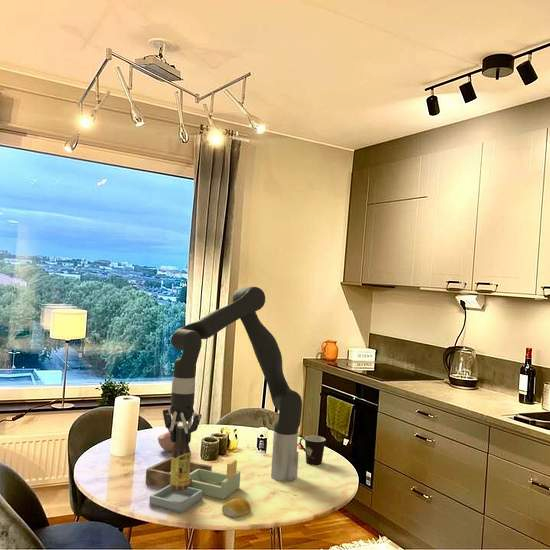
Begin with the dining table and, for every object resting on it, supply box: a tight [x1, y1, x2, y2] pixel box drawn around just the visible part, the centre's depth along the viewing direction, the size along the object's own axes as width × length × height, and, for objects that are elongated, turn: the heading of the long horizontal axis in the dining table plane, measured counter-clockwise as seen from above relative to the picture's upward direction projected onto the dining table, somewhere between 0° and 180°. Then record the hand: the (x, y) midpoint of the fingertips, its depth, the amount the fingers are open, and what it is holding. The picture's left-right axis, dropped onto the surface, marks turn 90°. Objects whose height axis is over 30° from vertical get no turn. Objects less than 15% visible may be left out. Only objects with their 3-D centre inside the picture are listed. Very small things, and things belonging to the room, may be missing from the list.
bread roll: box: [221, 497, 251, 518], centre depth 166 cm, size 8×9×4 cm
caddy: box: [190, 459, 241, 500], centre depth 183 cm, size 17×12×10 cm
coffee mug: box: [299, 435, 327, 467], centre depth 218 cm, size 12×9×10 cm
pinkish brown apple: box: [157, 428, 175, 453], centre depth 221 cm, size 12×12×12 cm
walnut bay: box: [145, 456, 213, 489], centre depth 188 cm, size 18×15×5 cm
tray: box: [148, 484, 204, 515], centre depth 170 cm, size 12×13×3 cm
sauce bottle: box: [170, 425, 192, 491], centre depth 171 cm, size 7×6×20 cm
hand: (180, 442), depth 171 cm, fingers closed on sauce bottle, 4 cm apart
